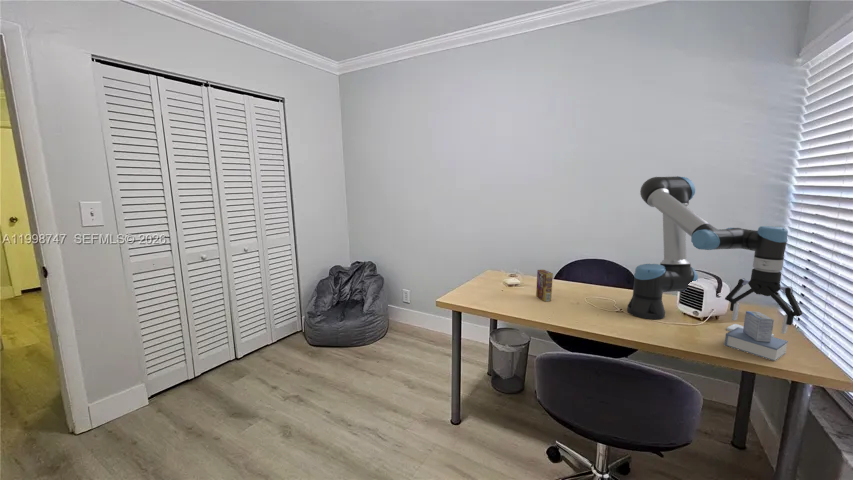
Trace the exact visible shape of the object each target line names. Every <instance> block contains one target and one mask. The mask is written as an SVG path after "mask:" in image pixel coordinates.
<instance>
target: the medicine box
mask: <svg viewBox="0 0 853 480" xmlns="http://www.w3.org/2000/svg"><path fill="white" fill-rule="evenodd" d="M744 316H745V317H744V323H743V326H744V328H743V332H744V333H745V334H747V335H748V336H750V337H751V338H753V339H754V340H756V341H761V342H771V337H772V334H773V329H774V321H775V320H774V319H773V318H771V317H770V316H768V315H766V314H764V313H762V312H760V311H750V310H749V311H747V310H746V311H745V314H744Z"/></svg>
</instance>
